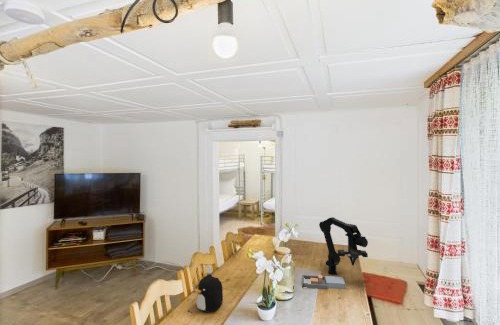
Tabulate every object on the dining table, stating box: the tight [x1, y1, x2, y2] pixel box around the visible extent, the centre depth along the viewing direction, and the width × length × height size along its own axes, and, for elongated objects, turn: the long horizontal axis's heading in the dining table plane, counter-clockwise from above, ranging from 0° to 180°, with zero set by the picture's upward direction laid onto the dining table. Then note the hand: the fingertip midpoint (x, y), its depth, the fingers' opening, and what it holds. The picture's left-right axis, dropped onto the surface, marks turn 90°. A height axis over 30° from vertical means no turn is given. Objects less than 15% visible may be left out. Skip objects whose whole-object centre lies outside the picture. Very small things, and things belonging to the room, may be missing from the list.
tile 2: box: [317, 274, 323, 284], centre depth 178 cm, size 5×5×2 cm
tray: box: [301, 274, 328, 290], centre depth 178 cm, size 14×16×2 cm
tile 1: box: [311, 278, 318, 284], centre depth 178 cm, size 5×5×2 cm
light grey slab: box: [324, 275, 346, 290], centre depth 175 cm, size 10×12×4 cm
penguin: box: [195, 274, 224, 312], centre depth 153 cm, size 18×18×17 cm
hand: (352, 265), depth 178 cm, fingers closed
